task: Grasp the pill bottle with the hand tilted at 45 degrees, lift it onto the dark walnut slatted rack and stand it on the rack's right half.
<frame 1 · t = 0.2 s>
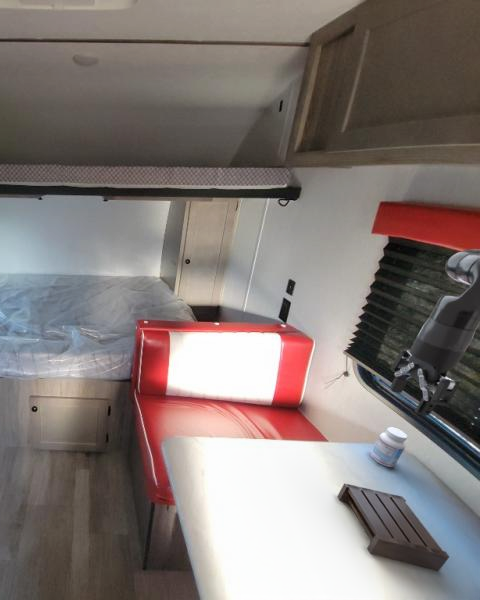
hand: (407, 402, 78), 33 cm above the table, tool pointing down, fingers open, 8 cm apart
rack: (382, 530, 83), on the table
pill bottle: (381, 460, 105), on the table
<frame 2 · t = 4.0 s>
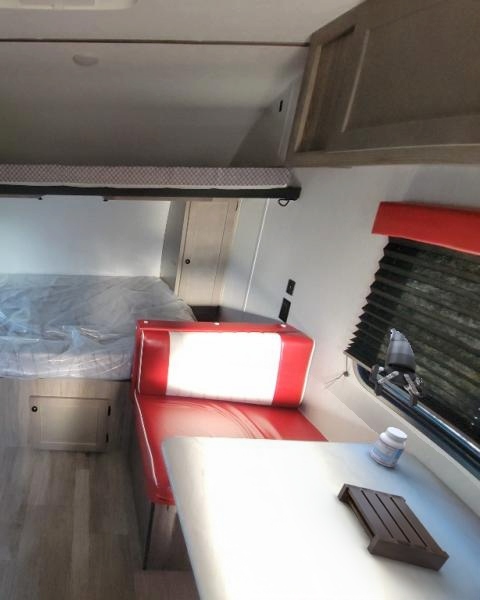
hand: (394, 401, 109), 16 cm above the table, tool tilted 45°, fingers open, 8 cm apart
nothing on the table moved.
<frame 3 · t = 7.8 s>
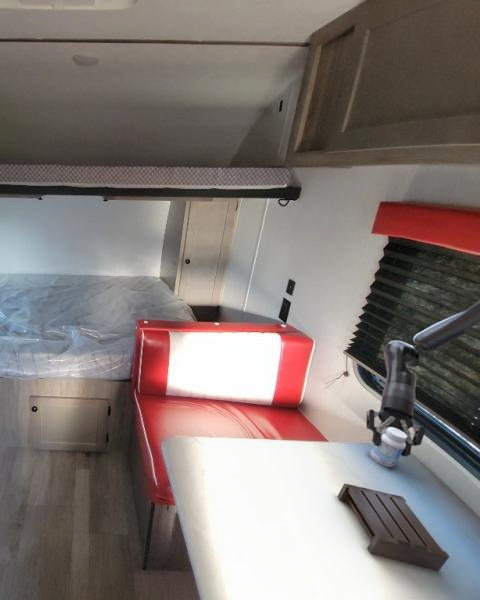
hand: (390, 450, 102), 5 cm above the table, tool tilted 45°, fingers closed on pill bottle, 6 cm apart
pill bottle: (381, 460, 105), on the table, touching gripper
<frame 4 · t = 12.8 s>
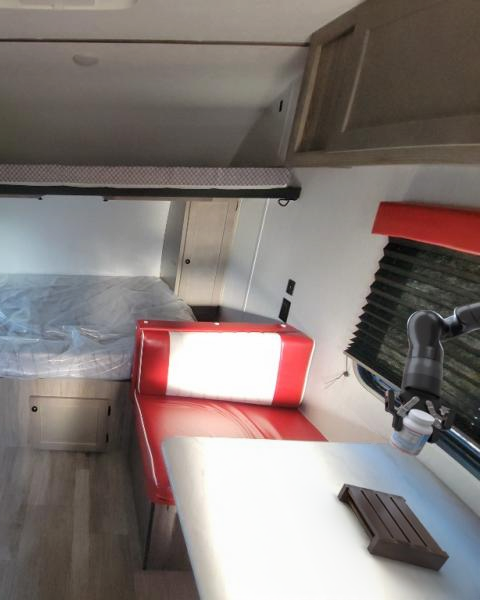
hand: (414, 436, 86), 20 cm above the table, tool tilted 45°, fingers closed on pill bottle, 6 cm apart
pill bottle: (402, 448, 90), point 15 cm above the table, touching gripper
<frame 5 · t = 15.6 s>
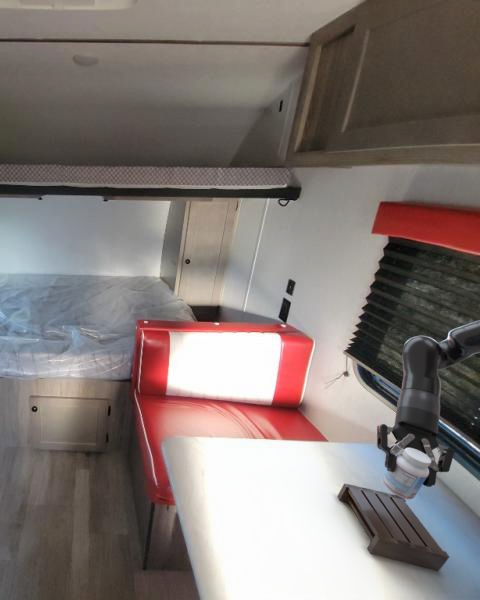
hand: (408, 478, 79), 16 cm above the table, tool tilted 45°, fingers closed on pill bottle, 6 cm apart
pill bottle: (396, 489, 82), point 10 cm above the table, touching gripper
when the fingers open (10 cm above the table, at t = 17.7 s): pill bottle stays where it is, resting on rack.
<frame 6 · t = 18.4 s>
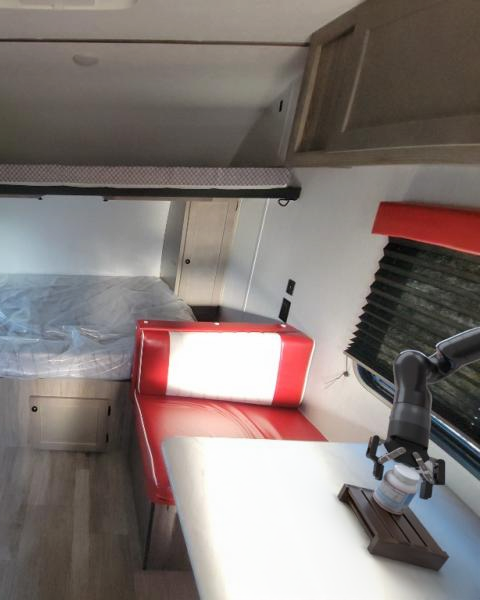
hand: (400, 489, 81), 12 cm above the table, tool tilted 45°, fingers open, 8 cm apart
pill bottle: (386, 504, 84), point 5 cm above the table, touching rack
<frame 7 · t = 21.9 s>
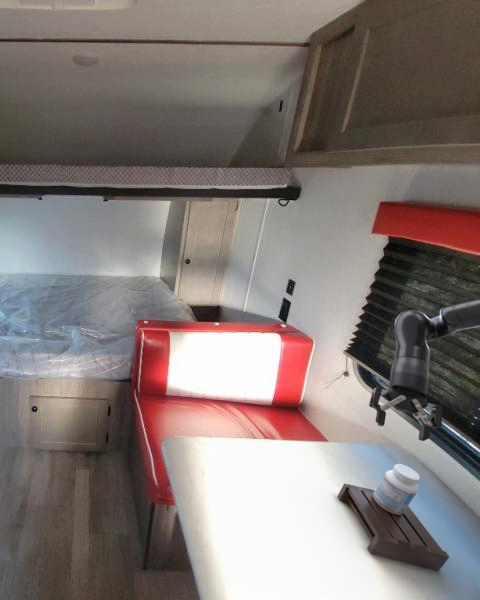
hand: (401, 432, 88), 20 cm above the table, tool tilted 45°, fingers open, 8 cm apart
nothing on the table moved.
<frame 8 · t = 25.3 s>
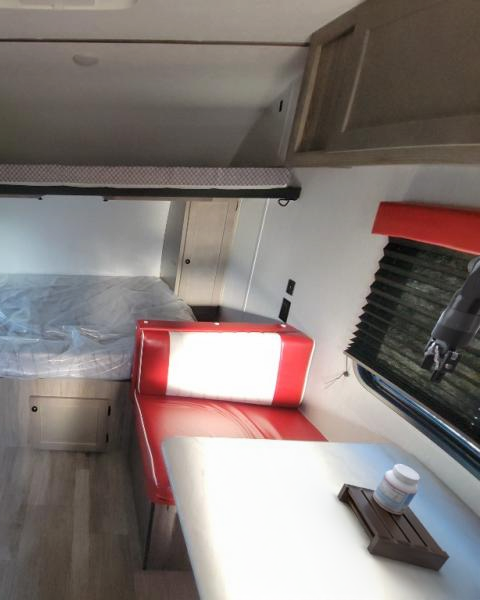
hand: (428, 374, 97), 30 cm above the table, tool pointing down, fingers open, 8 cm apart
nothing on the table moved.
at the end: pill bottle inside the target area on the rack (1.1 cm from its centre), point 4.8 cm above the rack's base; pill bottle tilted 0° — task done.
